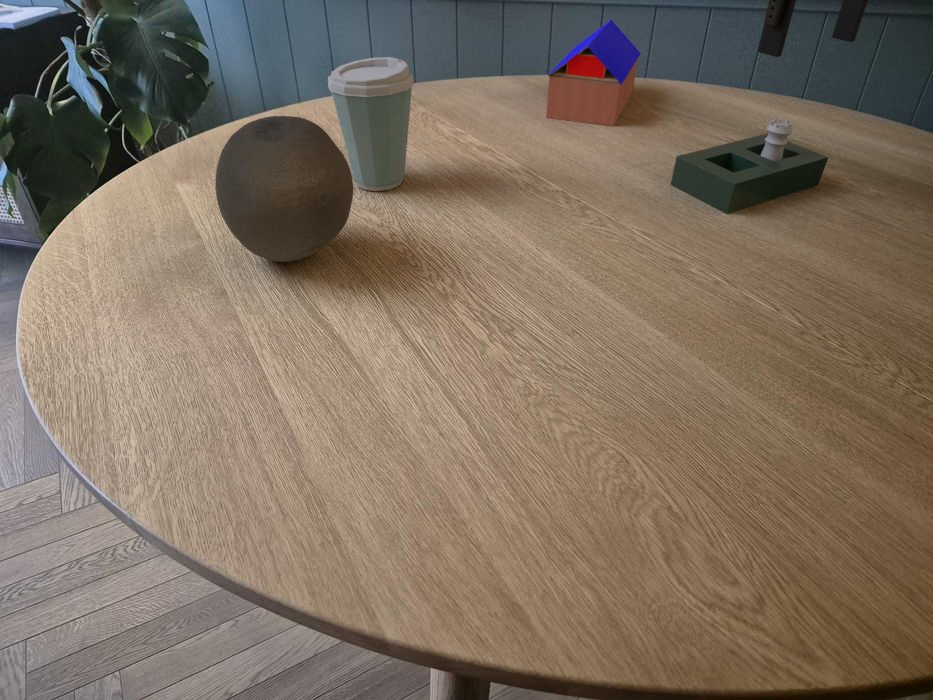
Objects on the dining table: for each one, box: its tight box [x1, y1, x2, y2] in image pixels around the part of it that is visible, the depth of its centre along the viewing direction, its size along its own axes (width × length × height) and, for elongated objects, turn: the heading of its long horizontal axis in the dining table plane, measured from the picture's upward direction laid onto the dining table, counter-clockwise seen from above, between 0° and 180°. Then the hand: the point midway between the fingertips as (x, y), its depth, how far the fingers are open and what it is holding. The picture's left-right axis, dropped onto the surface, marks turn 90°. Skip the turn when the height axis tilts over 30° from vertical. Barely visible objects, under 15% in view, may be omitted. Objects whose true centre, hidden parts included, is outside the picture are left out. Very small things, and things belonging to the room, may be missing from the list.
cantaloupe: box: [215, 115, 354, 263], centre depth 69 cm, size 14×14×15 cm
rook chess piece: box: [760, 118, 794, 161], centre depth 88 cm, size 4×4×8 cm
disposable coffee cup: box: [327, 56, 415, 192], centre depth 85 cm, size 11×11×15 cm
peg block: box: [670, 132, 829, 214], centre depth 88 cm, size 18×10×4 cm, turn 120°
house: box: [545, 19, 641, 127], centre depth 112 cm, size 12×20×12 cm, turn 160°
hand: (807, 46), depth 81 cm, fingers open, 13 cm apart
